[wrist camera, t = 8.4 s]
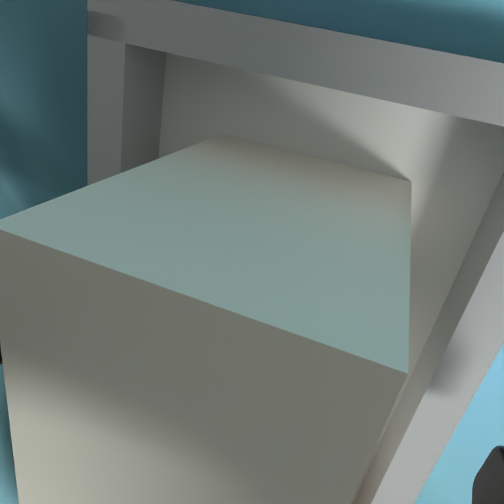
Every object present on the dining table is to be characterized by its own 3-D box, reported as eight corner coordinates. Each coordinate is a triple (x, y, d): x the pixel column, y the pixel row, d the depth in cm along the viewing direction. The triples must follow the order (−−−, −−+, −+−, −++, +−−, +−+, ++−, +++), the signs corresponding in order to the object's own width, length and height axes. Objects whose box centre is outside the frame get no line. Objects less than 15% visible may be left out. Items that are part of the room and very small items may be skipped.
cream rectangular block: (411, 181, 8) (408, 374, 3) (323, 428, 12) (250, 725, 6) (224, 133, 9) (-14, 224, 4) (189, 375, 12) (29, 599, 7)
